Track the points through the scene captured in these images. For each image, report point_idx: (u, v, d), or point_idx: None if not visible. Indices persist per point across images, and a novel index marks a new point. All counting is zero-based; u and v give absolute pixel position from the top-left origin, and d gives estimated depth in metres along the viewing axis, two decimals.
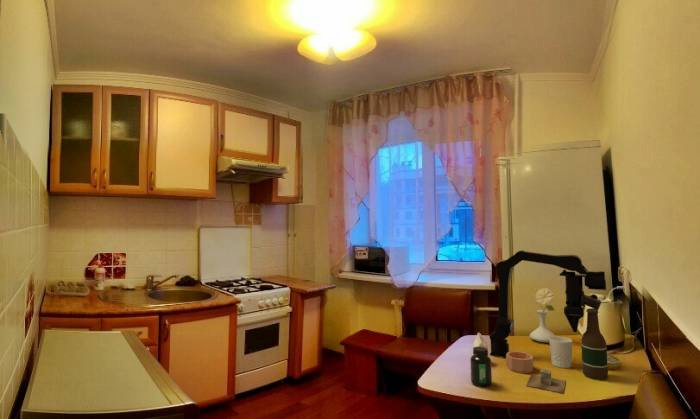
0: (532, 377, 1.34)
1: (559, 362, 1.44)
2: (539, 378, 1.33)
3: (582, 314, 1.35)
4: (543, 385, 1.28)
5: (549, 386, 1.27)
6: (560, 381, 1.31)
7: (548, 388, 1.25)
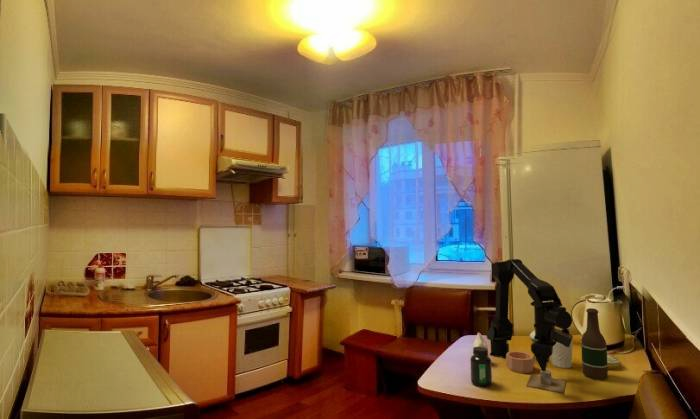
0: (532, 377, 1.34)
1: (559, 362, 1.44)
2: (539, 378, 1.33)
3: (550, 353, 1.21)
4: (543, 385, 1.28)
5: (549, 386, 1.27)
6: (560, 381, 1.31)
7: (548, 388, 1.25)
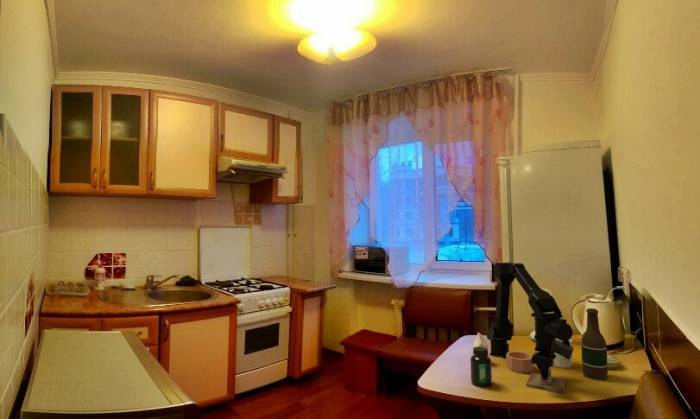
0: (532, 376, 1.34)
1: (559, 362, 1.44)
2: (539, 377, 1.33)
3: (551, 365, 1.21)
4: (543, 383, 1.28)
5: (549, 385, 1.27)
6: (560, 379, 1.31)
7: (548, 386, 1.25)
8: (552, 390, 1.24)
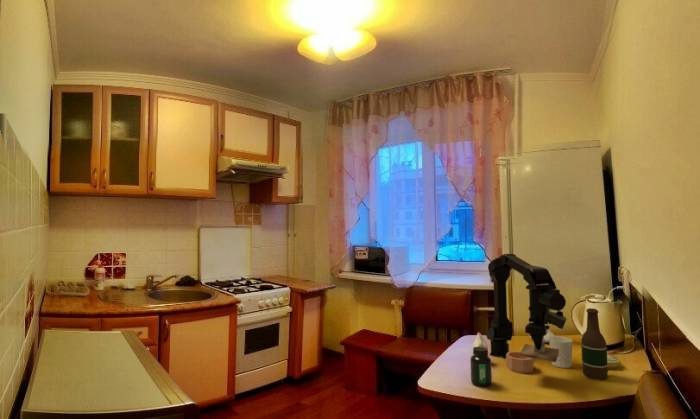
0: (526, 346, 1.37)
1: (559, 362, 1.44)
2: (533, 347, 1.36)
3: (544, 334, 1.24)
4: (536, 353, 1.31)
5: (542, 354, 1.30)
6: (553, 349, 1.34)
7: (541, 355, 1.28)
8: (545, 358, 1.27)
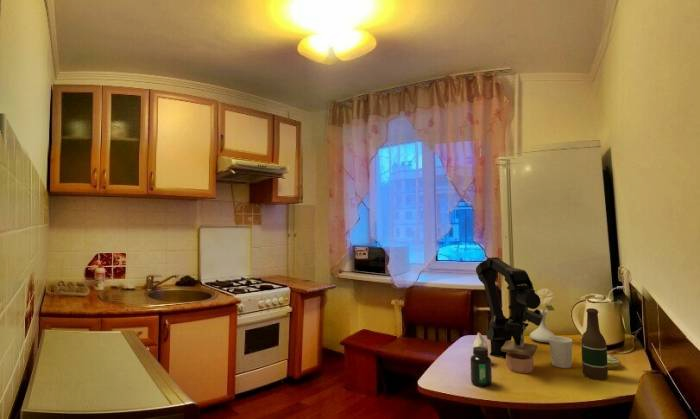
0: (507, 342, 1.49)
1: (559, 362, 1.44)
2: (513, 343, 1.48)
3: (522, 330, 1.35)
4: (516, 348, 1.42)
5: (521, 349, 1.41)
6: (532, 345, 1.45)
7: (520, 350, 1.40)
8: (523, 353, 1.38)
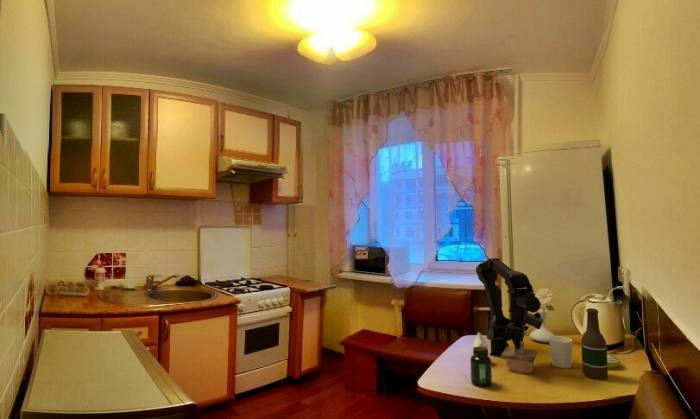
0: (507, 348, 1.48)
1: (559, 362, 1.44)
2: (514, 349, 1.47)
3: (522, 334, 1.35)
4: (516, 354, 1.42)
5: (521, 355, 1.41)
6: (532, 351, 1.45)
7: (520, 356, 1.39)
8: (523, 359, 1.38)
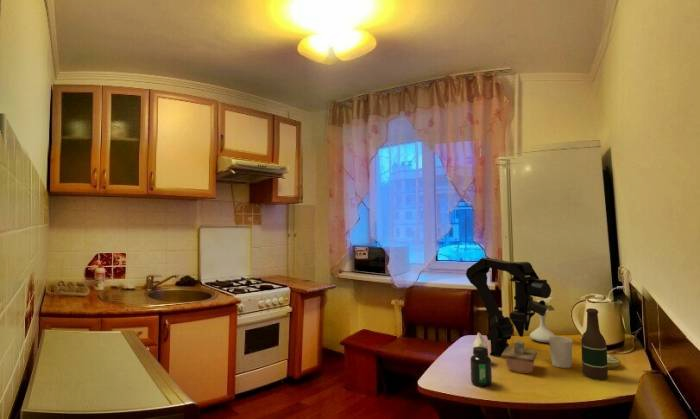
0: (507, 348, 1.48)
1: (559, 362, 1.44)
2: (514, 349, 1.47)
3: (526, 320, 1.39)
4: (516, 354, 1.42)
5: (521, 355, 1.41)
6: (532, 351, 1.45)
7: (520, 356, 1.39)
8: (523, 359, 1.38)
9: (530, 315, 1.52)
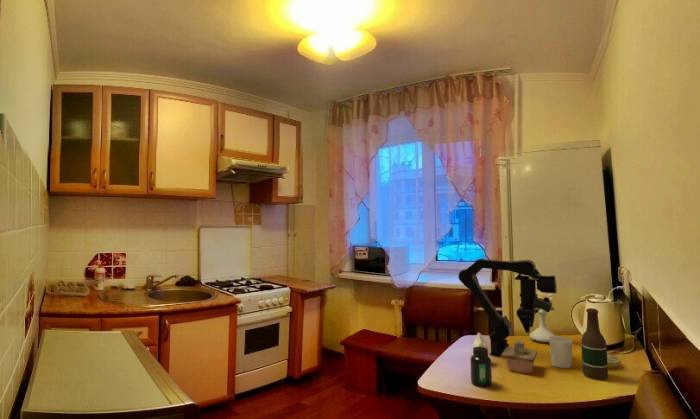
0: (507, 348, 1.48)
1: (559, 362, 1.44)
2: (514, 349, 1.47)
3: (532, 316, 1.44)
4: (516, 354, 1.42)
5: (521, 355, 1.41)
6: (532, 351, 1.45)
7: (520, 356, 1.39)
8: (523, 359, 1.38)
9: (534, 312, 1.56)
